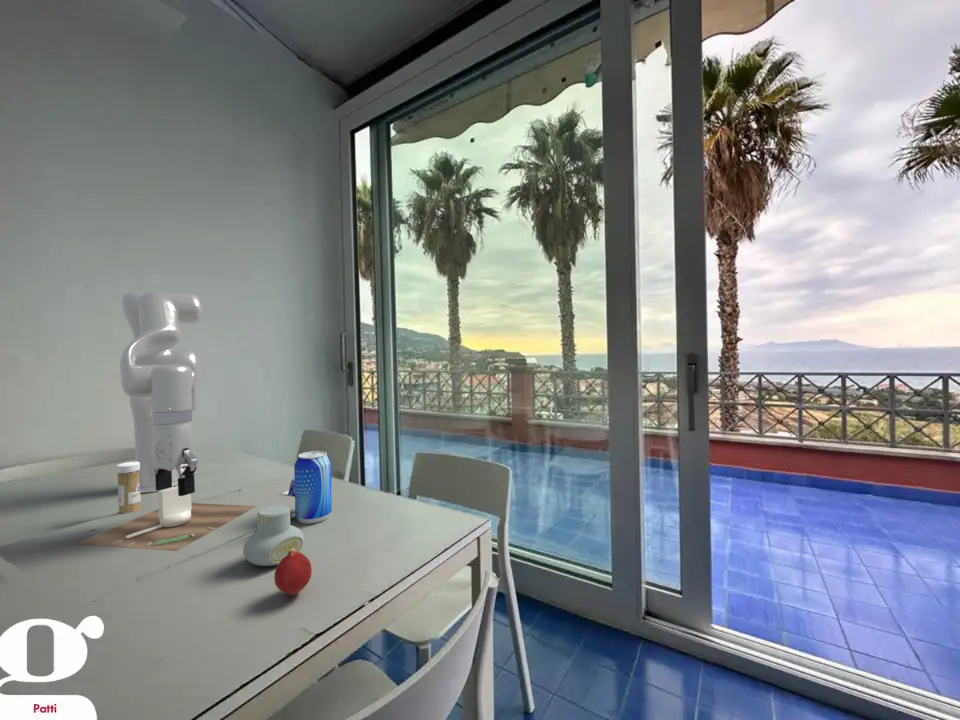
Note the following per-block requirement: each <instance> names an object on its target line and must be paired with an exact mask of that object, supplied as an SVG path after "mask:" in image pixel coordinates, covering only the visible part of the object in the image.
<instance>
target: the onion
mask: <svg viewBox="0 0 960 720" xmlns="http://www.w3.org/2000/svg"><path fill="white" fill-rule="evenodd" d="M288 553H289V554H288V555H286V556H285V557H284V558H283V559H282V560H281V561H280V563H279V564H278V565H276V568H275V571H274V584H275V587H277V589H278V590H279V591H281V592H282V593H284V594H287V595H289V596H290V597H295V596H296V595H298V594H299V593H300V592H301V591H302V590H303V589H305V587H307V585H308V583H309V582H310V580H311V578H312V573H313V572H312V571H313V569H312V568H313V567H312V563H311V561H310V559H309V558H308V557H307V556H306V555H304V554H303V553H301V552H300V551H299V552H297V551H296V550H295V549H291V550H290V551H289V552H288Z"/></svg>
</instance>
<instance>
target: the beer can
mask: <svg viewBox="0 0 960 720" xmlns="http://www.w3.org/2000/svg"><path fill="white" fill-rule="evenodd" d="M297 456H298V457H297V460H296V461H295V463H294V466H293V467H294V478H295V497H294V504H295V505H294V506H295V507H294V509H295V513H294V514H295V518H296V519H297V520H298V521H299V522H300V523H301V524H306V525H307V524H310V525H311V524H317V523H321V522H323V521H325V520H327V519H328V518H329V516H330V514H331V513H332V512H333V511H332V510H333V508H332V507H333V504H332V500H333V499H332V498H333V497H332V464H331V463H332V462H331V459H330V457H328V453H327V452H326V451H322V450H313V451H311V450H310V451H306V452H301V453H300V454H298V455H297Z"/></svg>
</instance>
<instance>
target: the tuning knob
mask: <svg viewBox="0 0 960 720" xmlns="http://www.w3.org/2000/svg"><path fill="white" fill-rule="evenodd" d="M191 503H192V493H191V494H187V495H184V496H179V495H178V485H177V486H175V487H172V488H168V489H165V490H161V491H157V510H158V516H159V522H160V525H157V526H154V527H151V528H148V529H145V530H142V531H139V532H136V533H133V534H130V535H127V536H126V538H127V539H128V538H131V537H134V536H137V535H140V534H143V533H146V532H149V531H152V530H155V529H157V528H160V527H174V526H178V525H182V524H185V523H187V522H189V521H190V520H191V510H192V505H191Z"/></svg>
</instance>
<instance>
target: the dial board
mask: <svg viewBox="0 0 960 720" xmlns="http://www.w3.org/2000/svg"><path fill="white" fill-rule="evenodd" d="M191 505H192V510H191V520H190V521H189V522H187V523H185V524H182V525H178V526H174V527H160V528H157V529H155V530H152V531H149V532H146V533H143V534H140V535H137V536H134V537H131V538H128V539H127V538H126V536H127V535H130V534H133V533H136V532H139V531H142V530H145V529H148V528H151V527H154V526H157V525H160V522H159V516H158V509H156V510H155V509H154V510H153V511H151V512H148V513H146V514H144V515H141V516H139V517H136V518H134V519H132V520H129V521H127V522H125V523H122V524H120V525H118V526H115V527H113V528H110V529H107V530H105V531H104V532H101V533H99V534H96V535H93V536H91V537H89V538H86V539H84V540H82V541H80V542H76V545H80V546H81V545H84V546H98V547H99V546H100V547H113V548H114V547H115V548H128V549H129V548H131V549H133V548H134V549H146V550H148V549H149V550H161V551H179V550H181V549H183V548H184V547H187V546H188V545H191V544H192V543H194V542H195V541H197V540H199V539H202V537H205V536H206V535H208V534H210V533H212V532H214V531H215V530H217V529H220V528H221V527H223V526H224V525H226V524H228V523H230V522H232V521H233V520H235V519H237V518H239V517H240V516H243V515H244V514H247V512H249V511H251V510H253V509H255V508H257V505H242V504H241V505H238V504H222V503H221V504H219V503H218V504H216V503H196V502H195V503H194V502H191Z"/></svg>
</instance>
